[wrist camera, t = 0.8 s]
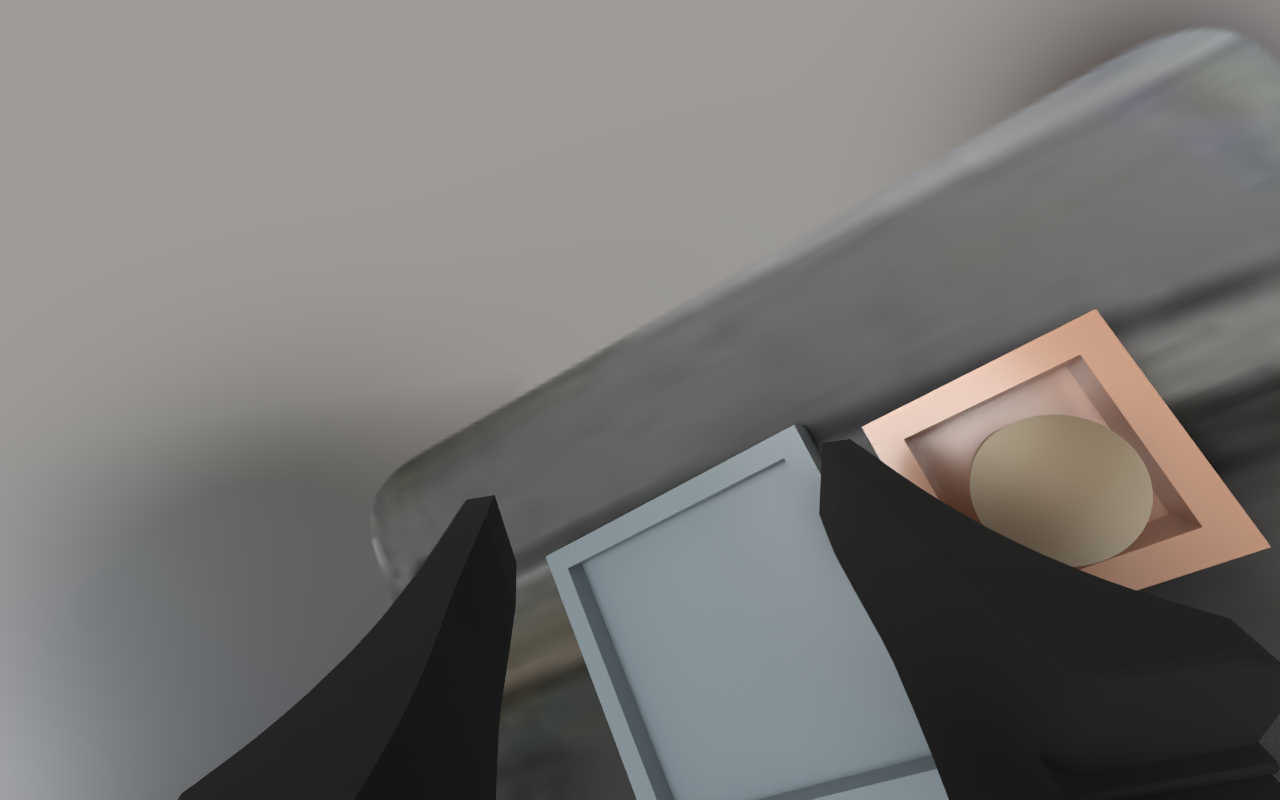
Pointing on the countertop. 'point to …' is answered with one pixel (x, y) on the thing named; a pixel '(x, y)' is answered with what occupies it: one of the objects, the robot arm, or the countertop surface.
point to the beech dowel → (1062, 488)
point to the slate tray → (741, 643)
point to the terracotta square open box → (1094, 390)
